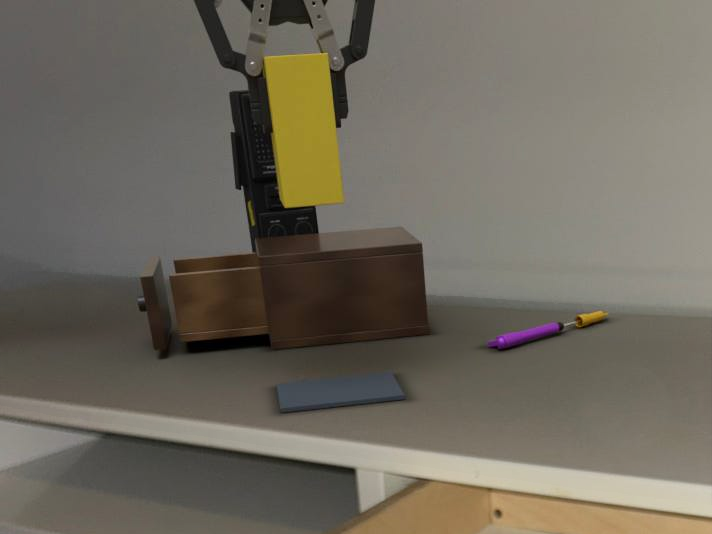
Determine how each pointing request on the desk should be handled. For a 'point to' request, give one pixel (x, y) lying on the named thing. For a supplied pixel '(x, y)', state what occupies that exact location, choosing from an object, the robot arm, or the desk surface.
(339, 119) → the robot arm
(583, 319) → the purple soldering iron
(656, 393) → the desk surface
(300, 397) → the mat
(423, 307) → the cabinet
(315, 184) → the block
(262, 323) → the drawer
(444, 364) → the desk surface
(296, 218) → the portable radio
